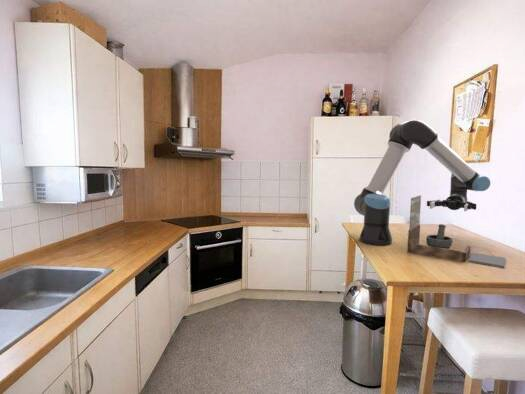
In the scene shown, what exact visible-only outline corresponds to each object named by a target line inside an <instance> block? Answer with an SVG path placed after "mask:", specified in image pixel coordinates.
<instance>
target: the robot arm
mask: <svg viewBox="0 0 525 394" xmlns="http://www.w3.org/2000/svg"><path fill="white" fill-rule="evenodd" d="M439 136H440V135H439V133H438V132H436V130H435V129H433V128H432V127H431V126H430V125H428V123H425V121H424V122H423V121H422V120H418V119H410V120H408V121H405V122H400V123H397V124H396V125H395V126H393V127H392V129H391V130H390V132H389V139H388V142H387V145H388V147H387V149H386V151H385V153H384V155H383V157H382V158H381V160H380V162H379V164H378V166H377V168H376V170H375V172H374V174H373V175H372V177H371V180H370V182H369V183H368V186H366V187H364V188H363V189H362V190H361V193H359V194H358V195H357V196H356V197H355V198H354V201H353V206H354V210H355V211H356V212H357V213H358V214H360V215H361V216H363V227H362V230H361V232H360V235H359V241H360V242H361V243H364V244H367V245H372V246H373V245H374V246H387V245H391V244H393V237H392V234H391V231H390V225H389V224H390V209H391V199H390V197H389V196H388V195H386V194H384V193H385V190H386V188H387V187H388V185H389V184H390V181H391V179H392V177H393V176H394V173H395V172H396V170H397V168H398V167H399V165H400V163H401V161H402V159H403V157H404V155H405V154H406V153H408V152H410V151H411V149H412V146H413V145H416V146H417V147H419V148H420V149H421V150H426V152H428V153H429V154H430V155H431V156H432V157H434V158H435V160H437V161H438V162H439V163H440V164H441V165H442V166H444V167H445V169H447V170H448V171H449V172H450V173H451V177H450V191H449V196H448V197H447V198H446V199H443V200H441V199H436V200H427V201H426V207H429V209H431V210H432V209H434V208H435V207H443V208H447V209H449V210H451V211H456V210H457V211H458V210H460V209H463V211H464V212H467V211H469V210H473V211H474V210H475V211H476V210H477V203H474V202H471V201H468V191H474V192H485V191H487V190H488V189H489V188H490V186H491V180H490V178H489V177H488V176H485V175H481V174H479V173H478V172H477V171H476V170H474V169H473V167H471V166H470V165H469V164H468V163H467V162H466V161H465V160H464V159H463V158H462V157H460V155H458V154H457V152H455V151H454V150H453V149H452V148H451V147H449V145H447V144H446V143H445V142H444V141H443V140H442V139H441V138H440V137H439Z"/></svg>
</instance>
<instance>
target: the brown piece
mask: <svg viewBox="0 0 525 394" xmlns="http://www.w3.org/2000/svg"><path fill="white" fill-rule="evenodd" d="M421 203H422V195H416V196H414V197H411V198H410V206H409V207H410V208H409V209H410V210H409V214H410V215H409V227H408V228H409V229H408V230H407V231H408V234H407V238H408V239H407V253H411V254H418V255H422V256H423V255H424V256H428V257H433V258H439V259H445V260H450V261H456V262H461V263H467V261H468V260H469V258H470V256H471V251H472V250H471V249H472V246H471V245H467V246H466V247H465V248H464V250H457V249H451V248H449V249H446V248H440V247H433V246H428V244H421V243H420V236H421V233H420V232H421V222H420V221H421Z"/></svg>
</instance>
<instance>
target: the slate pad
mask: <svg viewBox="0 0 525 394" xmlns="http://www.w3.org/2000/svg"><path fill="white" fill-rule="evenodd" d="M468 262H469V263H474V264H479V265H484V266H489V267H496V268H502V269H504V268H505V265H506V264H505V263H506V257H504V256H497V255H492V254H491V255H490V254H483V253H479V252H472V253H471V254H470V255H469V257H468Z"/></svg>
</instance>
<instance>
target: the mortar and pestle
mask: <svg viewBox="0 0 525 394" xmlns="http://www.w3.org/2000/svg"><path fill="white" fill-rule="evenodd" d="M446 227H447V226H446V225H444V224H438V229H437V232H436V233H437V234H429V235H426V245H427V246H433V247H440V248H446V249H451V247H452V244H453V240H454V239H453V238H452V237H450V236H445V230H446Z"/></svg>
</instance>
